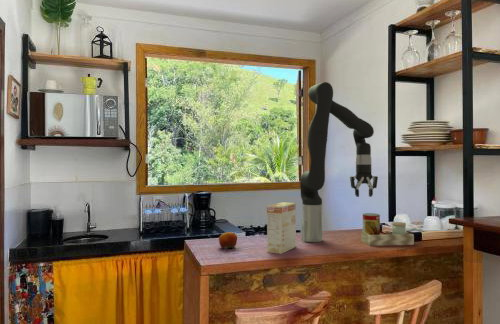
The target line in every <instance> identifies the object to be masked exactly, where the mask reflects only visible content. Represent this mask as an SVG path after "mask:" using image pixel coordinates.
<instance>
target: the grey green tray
mask: <svg viewBox="0 0 500 324" xmlns="http://www.w3.org/2000/svg"><path fill="white" fill-rule="evenodd" d="M361 242H362V243H364V244H366V245H368V246H373V247H374V246H412V245H415V236H414V234H413V233H410V232H407V231H406V235H396V234H393V232H391V231H389V230H386V231H385V234H380V235H369V234H367V233H365V232H363V230H362V231H361Z"/></svg>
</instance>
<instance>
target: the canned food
mask: <svg viewBox="0 0 500 324" xmlns="http://www.w3.org/2000/svg"><path fill="white" fill-rule="evenodd" d="M380 218H381V214H380V213H376V212H375V213H374V212H367V213H366V212H365V213H362V231H363V232H365V233H367V234H369V235H381V222H380V220H381V219H380Z"/></svg>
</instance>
